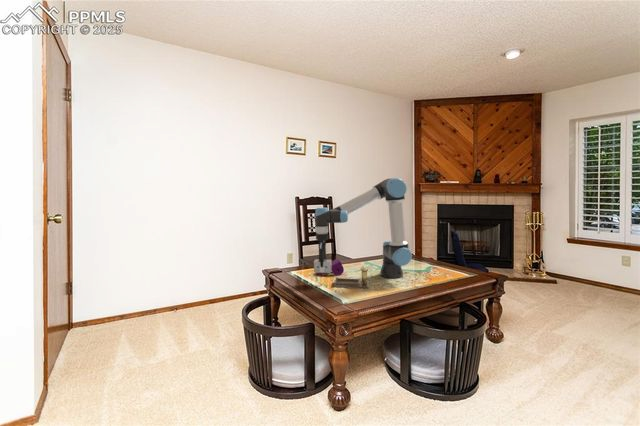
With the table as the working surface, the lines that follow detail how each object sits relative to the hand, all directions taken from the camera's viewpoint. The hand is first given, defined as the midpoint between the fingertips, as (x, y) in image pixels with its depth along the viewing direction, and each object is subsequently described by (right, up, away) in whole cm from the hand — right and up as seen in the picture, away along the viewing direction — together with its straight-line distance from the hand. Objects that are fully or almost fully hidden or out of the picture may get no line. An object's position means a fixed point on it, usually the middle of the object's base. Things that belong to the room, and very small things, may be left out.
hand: (322, 270), depth 201 cm
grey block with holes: (0, 0, 0) cm, 0 cm away
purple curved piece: (+4, -7, +25) cm, 26 cm away
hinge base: (+17, -8, -1) cm, 19 cm away
